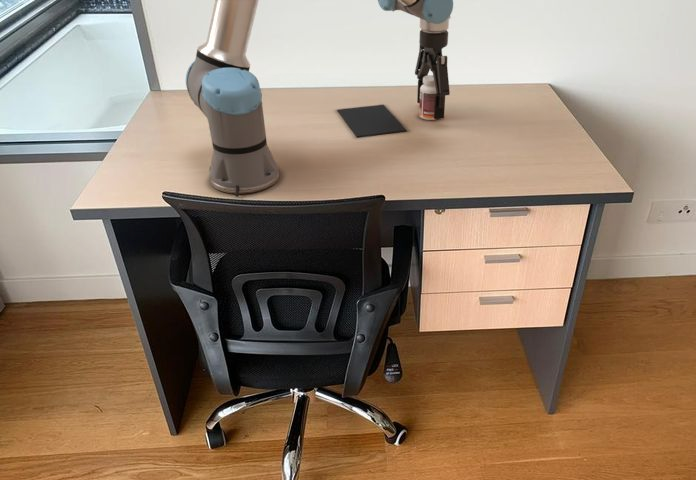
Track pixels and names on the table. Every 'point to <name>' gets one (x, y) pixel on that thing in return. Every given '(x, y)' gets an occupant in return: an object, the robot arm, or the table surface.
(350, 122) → the mat
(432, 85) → the pill bottle
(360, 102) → the table surface
